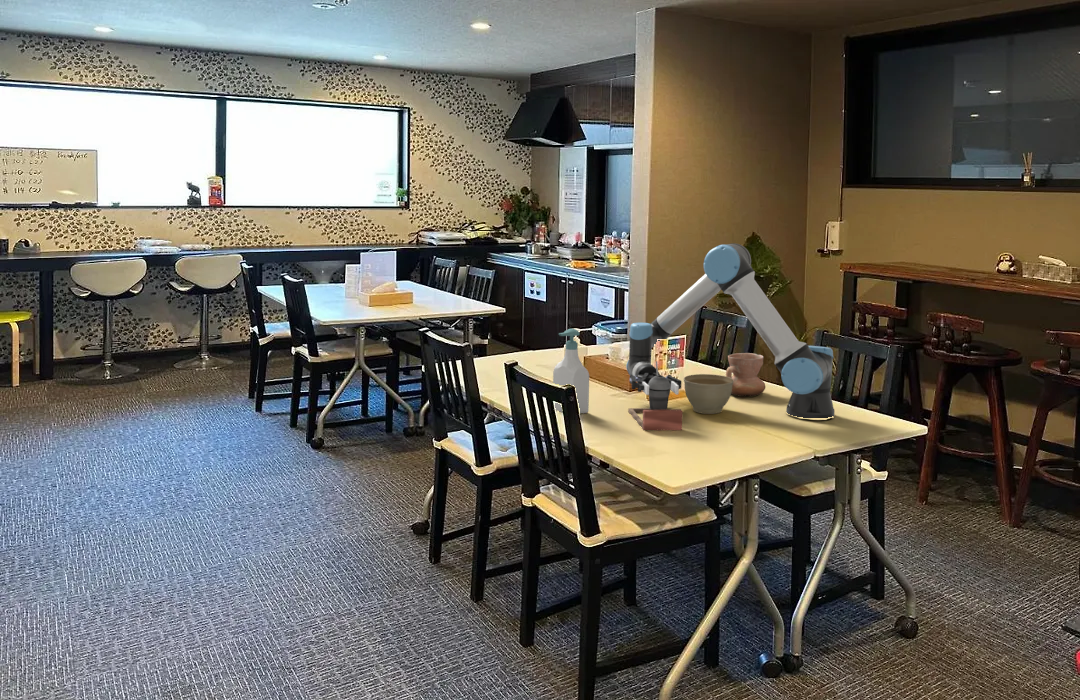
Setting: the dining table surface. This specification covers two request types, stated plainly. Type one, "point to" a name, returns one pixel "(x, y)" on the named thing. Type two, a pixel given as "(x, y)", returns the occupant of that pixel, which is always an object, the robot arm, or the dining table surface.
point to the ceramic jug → (745, 374)
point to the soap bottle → (573, 372)
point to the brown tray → (658, 418)
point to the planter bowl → (708, 392)
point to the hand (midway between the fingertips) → (662, 390)
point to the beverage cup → (659, 392)
